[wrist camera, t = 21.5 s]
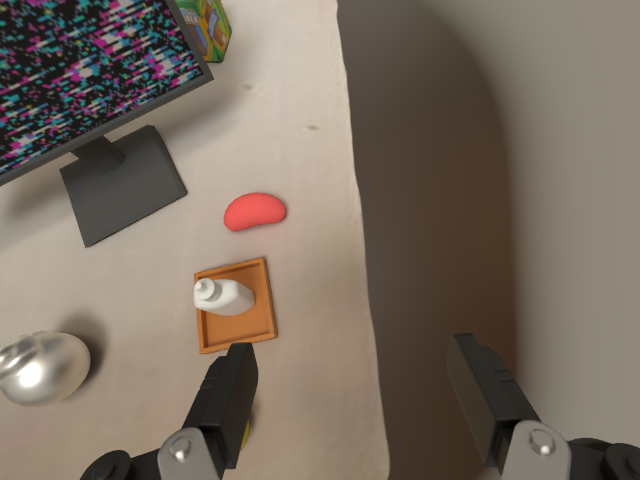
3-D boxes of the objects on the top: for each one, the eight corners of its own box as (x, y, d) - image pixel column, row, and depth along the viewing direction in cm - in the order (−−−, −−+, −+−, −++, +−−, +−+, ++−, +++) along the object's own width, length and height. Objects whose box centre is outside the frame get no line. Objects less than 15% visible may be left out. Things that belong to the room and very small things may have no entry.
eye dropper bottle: (223, 283, 46) (182, 261, 35) (259, 292, 45) (229, 272, 34) (213, 313, 44) (166, 299, 33) (249, 323, 44) (214, 312, 32)
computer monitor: (11, 289, 49) (-1068, 84, 12) (-4, 210, 55) (-771, -101, 17) (256, 158, 53) (35, -300, 16) (219, 97, 59) (-9, -349, 21)
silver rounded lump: (103, 321, 46) (40, 313, 37) (108, 389, 43) (40, 399, 33) (44, 341, 46) (-35, 338, 36) (44, 411, 42) (-43, 427, 33)
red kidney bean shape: (240, 201, 52) (213, 198, 47) (286, 189, 49) (262, 185, 43) (245, 231, 52) (218, 233, 47) (291, 222, 48) (268, 222, 43)
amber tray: (278, 337, 43) (274, 336, 41) (206, 354, 43) (199, 354, 41) (266, 261, 47) (262, 257, 45) (200, 276, 47) (193, 273, 45)
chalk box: (222, 63, 62) (185, -21, 48) (179, 61, 63) (131, -21, 49) (233, 30, 65) (202, -58, 51) (192, 29, 66) (150, -58, 52)
